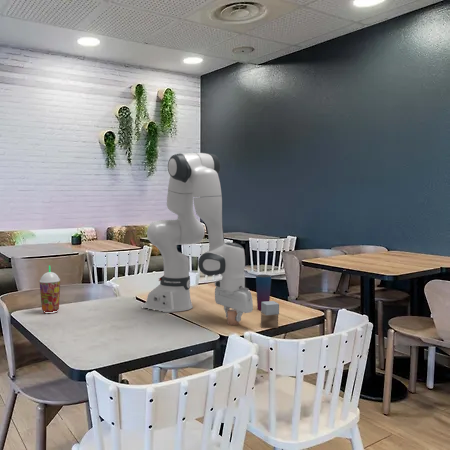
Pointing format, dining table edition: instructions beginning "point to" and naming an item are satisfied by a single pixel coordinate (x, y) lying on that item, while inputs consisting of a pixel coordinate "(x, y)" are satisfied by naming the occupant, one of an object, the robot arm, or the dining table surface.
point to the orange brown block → (232, 317)
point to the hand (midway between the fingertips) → (233, 319)
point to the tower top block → (270, 308)
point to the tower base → (269, 321)
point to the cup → (263, 289)
